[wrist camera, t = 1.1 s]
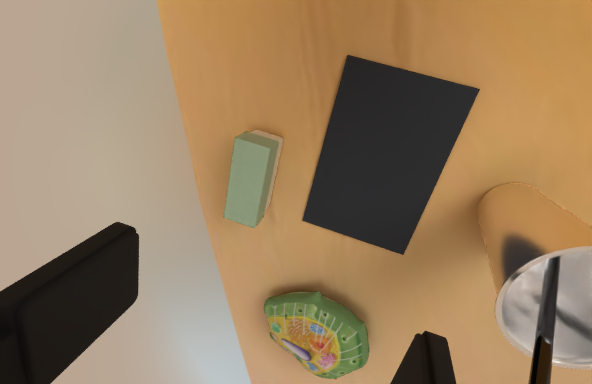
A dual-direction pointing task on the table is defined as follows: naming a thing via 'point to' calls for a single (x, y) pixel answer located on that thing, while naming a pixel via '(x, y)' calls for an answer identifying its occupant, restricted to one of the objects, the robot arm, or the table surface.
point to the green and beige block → (252, 176)
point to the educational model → (318, 333)
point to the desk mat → (385, 151)
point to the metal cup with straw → (540, 277)
